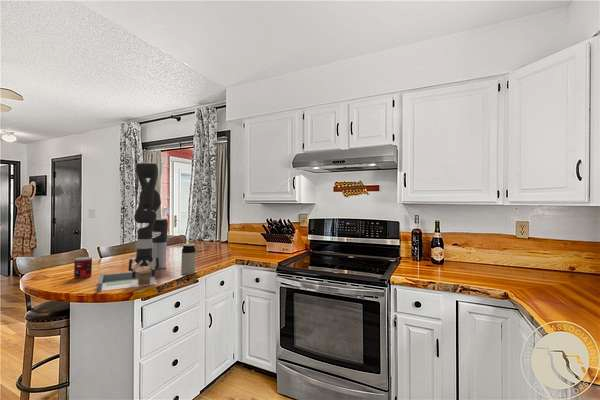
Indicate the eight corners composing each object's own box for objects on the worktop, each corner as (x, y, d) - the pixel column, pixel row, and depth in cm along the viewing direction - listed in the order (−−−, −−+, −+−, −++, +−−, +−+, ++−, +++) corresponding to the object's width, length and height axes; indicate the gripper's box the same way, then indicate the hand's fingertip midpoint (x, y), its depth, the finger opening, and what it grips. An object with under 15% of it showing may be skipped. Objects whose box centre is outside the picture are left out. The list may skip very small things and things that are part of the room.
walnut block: (138, 281, 155) (138, 270, 155) (148, 280, 158) (148, 269, 158) (139, 285, 147) (139, 274, 147) (149, 284, 149) (150, 272, 149)
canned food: (72, 277, 163) (73, 258, 163) (89, 275, 168) (90, 256, 169) (75, 279, 157) (76, 260, 158) (92, 277, 163) (93, 258, 164)
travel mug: (195, 274, 175) (196, 244, 176) (182, 275, 171) (182, 245, 172) (193, 271, 182) (194, 243, 182) (180, 272, 178) (181, 244, 178)
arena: (100, 282, 153) (100, 274, 153) (153, 276, 167) (154, 269, 167) (97, 291, 136) (97, 283, 137) (157, 284, 150) (157, 277, 150)
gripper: (158, 245, 160) (157, 274, 159) (129, 247, 152) (127, 277, 151) (160, 247, 153) (159, 277, 153) (129, 248, 146) (128, 280, 145)
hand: (143, 277), depth 152 cm, fingers open, 8 cm apart
